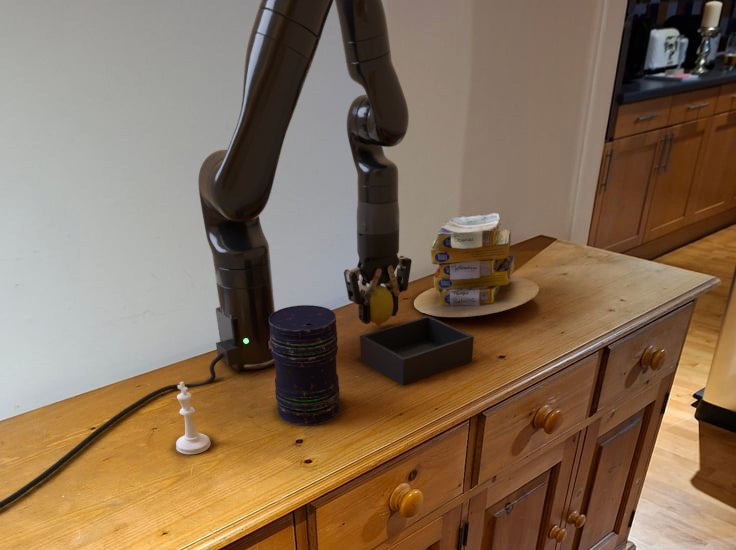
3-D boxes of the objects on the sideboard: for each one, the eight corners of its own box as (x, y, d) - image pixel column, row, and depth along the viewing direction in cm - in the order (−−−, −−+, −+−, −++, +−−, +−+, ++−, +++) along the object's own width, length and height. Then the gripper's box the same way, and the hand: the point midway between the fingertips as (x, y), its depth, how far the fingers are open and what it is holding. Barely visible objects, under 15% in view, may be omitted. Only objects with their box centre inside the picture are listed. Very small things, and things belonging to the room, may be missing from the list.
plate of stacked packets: (393, 315, 140) (394, 228, 130) (441, 277, 158) (445, 198, 148) (513, 335, 131) (524, 243, 121) (550, 293, 148) (562, 209, 138)
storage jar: (269, 402, 112) (260, 310, 103) (328, 390, 115) (323, 300, 106) (287, 431, 104) (278, 335, 95) (349, 418, 107) (346, 324, 98)
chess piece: (195, 433, 105) (184, 371, 99) (217, 443, 102) (207, 380, 96) (169, 447, 102) (155, 384, 96) (191, 458, 99) (179, 394, 93)
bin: (402, 385, 116) (403, 359, 113) (360, 360, 124) (359, 335, 121) (472, 361, 122) (474, 336, 120) (427, 339, 130) (428, 315, 128)
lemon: (390, 332, 132) (390, 289, 127) (361, 330, 133) (361, 288, 128) (395, 320, 137) (395, 279, 132) (367, 319, 138) (366, 278, 133)
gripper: (397, 215, 130) (396, 304, 140) (332, 229, 123) (336, 321, 133) (423, 223, 125) (420, 315, 135) (356, 238, 118) (358, 334, 128)
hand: (378, 318), depth 134 cm, fingers closed on lemon, 5 cm apart
